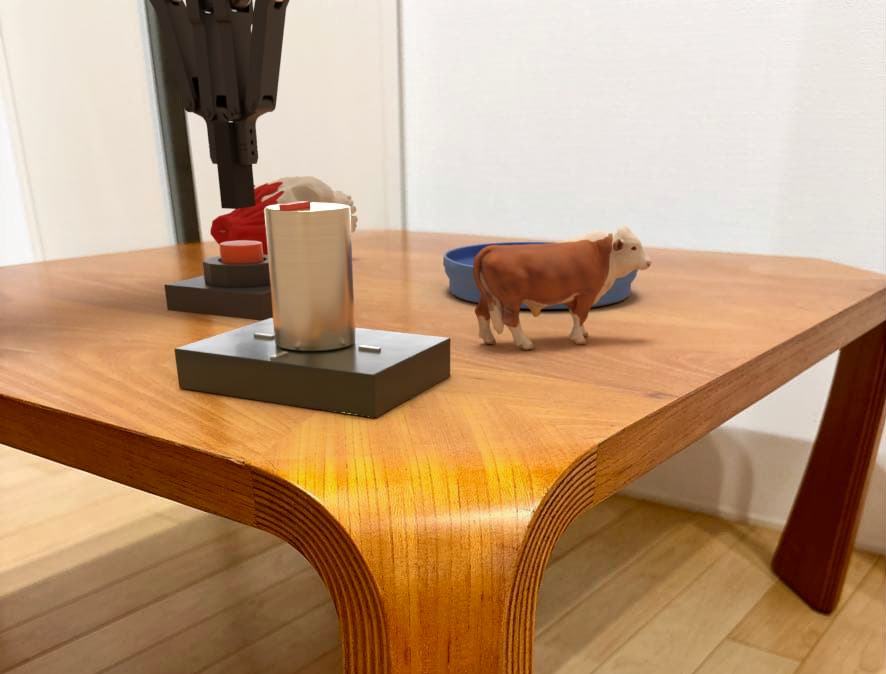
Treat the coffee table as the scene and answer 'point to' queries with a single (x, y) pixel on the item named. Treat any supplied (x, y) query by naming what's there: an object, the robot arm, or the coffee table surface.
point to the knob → (311, 275)
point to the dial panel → (316, 369)
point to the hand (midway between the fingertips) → (238, 206)
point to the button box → (225, 290)
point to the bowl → (465, 288)
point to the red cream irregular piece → (280, 191)
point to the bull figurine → (551, 279)
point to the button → (241, 251)
